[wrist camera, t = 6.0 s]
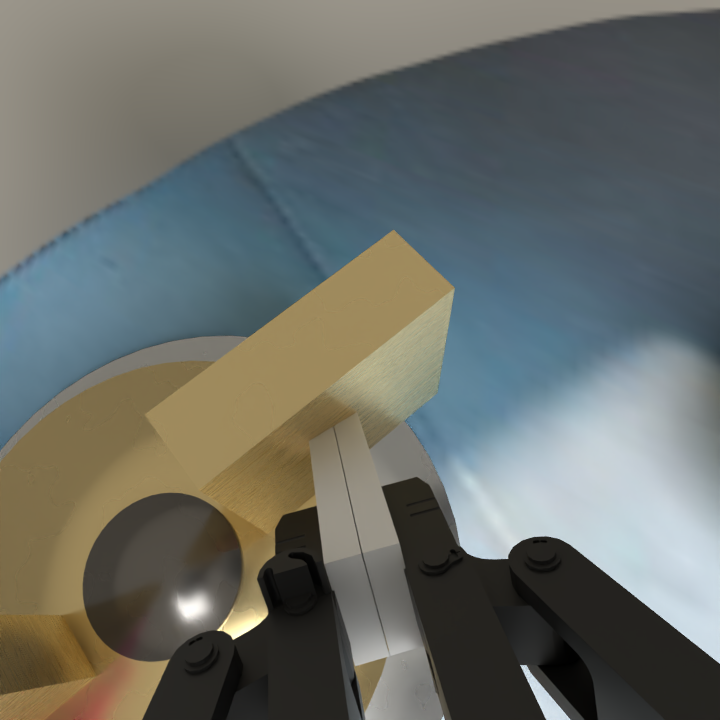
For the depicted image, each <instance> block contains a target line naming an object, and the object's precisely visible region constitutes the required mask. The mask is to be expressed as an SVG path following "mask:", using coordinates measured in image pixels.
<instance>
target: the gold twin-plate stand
mask: <svg viewBox="0 0 720 720" xmlns="http://www.w3.org/2000/svg"><path fill="white" fill-rule="evenodd" d="M454 290H455V288H454V287H453V286H452V285H451V284H450V283H449V282H448V281H447V280H446V279H445V278H444V277H443V276H442V275H441V274H440V273H438V272H437V271H436V270H435V269H434V268H433V267H432V266H431V265H430V264H429V263H428V262H427V261H426V260H425V259H424V258H423V257H422V256H421V255H420V254H418V253H417V252H416V251H415V250H414V249H413V248H412V247H411V246H410V245H409V244H408V243H407V242H406V241H405V240H404V239H403V238H402V237H401V236H400V235H398V234H397V233H396V232H395V231H394V230H393V231H391V232H390V233H389V234H387V235H386V236H385V237H383V238H382V239H381V240H379V241H378V242H377V243H375V244H374V245H372V246H371V247H370V248H368V249H367V250H366V251H364V252H363V253H362V254H360V255H359V256H358V257H356V258H355V259H354V260H352V261H351V262H350V263H348V264H347V265H345V266H344V267H343V268H341V269H340V270H339V271H337V272H336V273H335V274H333V275H332V276H331V277H329V278H328V279H327V280H325V281H324V282H323V283H321V284H320V285H319V286H317V287H316V288H314V289H313V290H312V291H310V292H309V293H308V294H306V295H305V296H304V297H302V298H301V299H300V300H298V301H297V302H296V303H294V304H293V305H292V306H290V307H289V308H287V309H286V310H285V311H283V312H282V313H281V314H279V315H278V316H277V317H275V318H274V319H273V320H271V321H270V322H269V323H267V324H266V325H265V326H263V327H262V328H261V329H259V330H258V331H256V332H255V333H254V334H252V335H251V336H250V337H248V338H247V339H246V340H244V341H243V342H242V343H240V344H239V345H238V346H236V347H235V348H234V349H232V350H231V351H229V352H228V353H227V354H225V355H224V356H223V357H221V358H220V359H219V360H217V361H181V362H169V363H162V364H157V365H152V366H148V367H143V368H138V369H135V370H132V371H129V372H126V373H123V374H120V375H117V376H114V377H112V378H110V379H107V380H105V381H103V382H101V383H99V384H97V385H94V386H92V387H90V388H88V389H86V390H85V391H83V392H81V393H80V394H78V395H76V396H75V397H73V398H71V399H70V400H68V401H66V402H65V403H63V404H62V405H60V406H59V407H58V408H56V409H55V410H54V411H52V412H51V413H50V414H48V415H47V416H46V417H44V418H43V419H42V420H41V421H39V422H38V423H37V424H36V425H35V426H34V427H33V428H32V429H31V430H30V431H29V432H28V433H27V434H26V435H24V436H23V437H22V438H21V439H20V440H19V441H18V442H17V443H16V445H15V446H14V447H13V448H12V449H11V450H10V451H9V453H8V454H7V455H6V456H5V457H4V458H3V459H2V461H1V462H0V720H142V719H143V717H144V714H145V712H146V710H147V708H148V706H149V703H150V701H151V699H152V697H153V695H154V693H155V690H156V688H157V686H158V684H159V682H160V680H161V677H162V675H163V673H164V671H165V669H166V667H167V664H168V662H169V660H170V659H171V657H172V656H173V654H174V653H175V651H176V650H177V649H178V648H179V647H180V646H181V645H182V644H183V643H185V642H186V641H187V640H188V639H190V638H192V637H194V636H196V635H198V634H199V633H203V632H207V631H211V630H217V631H224V632H226V633H228V634H229V635H231V636H232V639H235V638H237V637H239V636H240V635H242V634H244V633H246V632H248V631H249V630H251V629H252V628H254V627H255V626H257V625H258V624H259V623H260V622H261V621H263V620H264V619H265V618H266V616H267V615H268V609H267V606H266V603H265V601H264V598H263V595H262V592H261V589H260V587H259V584H258V581H257V577H258V573H259V570H260V569H261V568H262V566H263V565H264V564H265V563H266V561H268V560H269V559H271V558H272V557H273V556H275V528H276V526H277V524H278V523H279V521H280V519H281V517H282V516H283V515H285V514H288V513H292V512H295V511H299V510H303V509H306V508H310V507H314V506H317V503H316V495H315V487H314V479H313V471H312V463H311V455H310V447H309V441H310V440H312V439H313V438H315V437H317V436H318V435H320V434H321V433H323V432H325V431H326V430H328V429H330V428H331V427H334V426H335V425H336V424H338V423H340V422H341V421H343V420H345V419H346V418H348V417H350V416H351V415H353V414H355V413H356V412H357V413H358V416H359V419H360V422H361V426H362V429H363V432H364V435H365V438H366V441H367V444H368V447H369V449H371V448H372V447H373V446H374V445H376V444H377V443H378V442H379V441H380V440H382V439H383V438H384V437H385V436H386V435H388V434H389V433H390V432H391V431H392V430H394V429H395V428H396V427H397V426H398V425H400V424H401V423H402V422H403V421H404V420H406V419H407V418H408V417H409V416H410V415H412V414H413V413H414V412H415V411H416V410H418V409H419V408H420V407H421V406H422V405H424V404H425V403H426V402H427V401H429V400H430V399H431V398H432V397H433V396H435V395H436V394H437V392H438V386H439V380H440V374H441V368H442V362H443V356H444V350H445V344H446V338H447V332H448V326H449V320H450V314H451V308H452V302H453V296H454ZM334 430H335V428H334ZM385 639H386V637H385ZM386 643H387V641H386ZM387 647H388V645H387ZM388 652H389V648H388ZM386 659H387V657H385V658H382V659H378V660H375V661H371V662H368V663H364V664H361V665H357V666H355V664H354V661H353V664H354V669H355V672H356V676H357V679H358V682H359V685H360V690H361V696H362V702H363V708H364V713H365V711H366V709H367V708H368V705H369V703H370V701H371V698H372V696H373V694H374V691H375V689H376V687H377V684H378V682H379V680H380V677H381V675H382V672H383V669H384V666H385V662H386Z"/></svg>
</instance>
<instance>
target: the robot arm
mask: <svg viewBox="0 0 720 720" xmlns="http://www.w3.org/2000/svg"><path fill="white" fill-rule="evenodd" d="M334 428H335V430H334ZM309 447H310V455H311V463H312V471H313V479H314V487H315V495H316V503H317V506H314V507H310V508H306V509H303V510H299V511H295V512H292V513H288V514H285V515H283V516H282V517H281V519H280V521H279V523H278V524H277V526H276V528H275V556H273V557H272V558H271V559H269V560H268V561H266V563H265V564H264V565H263V566H262V568H261V569H260V570H259V573H258V577H257V581H258V584H259V587H260V589H261V592H262V595H263V598H264V601H265V603H266V606H267V609H268V615H267V616H266V618H265V619H264V620H263V621H261V622H260V623H259V624H258V625H257V626H255V627H254V628H252V629H251V630H249V631H248V632H246V633H244V634H242V635H240V636H239V637H237V638H235V639H232V636H231V635H229V634H228V633H226V632H224V631H217V630H211V631H207V632H203V633H199V634H198V635H196V636H194V637H192V638H190V639H188V640H187V641H186V642H185V643H183V644H182V645H181V646H180V647H179V648H178V649H177V650H176V651H175V653H174V654H173V656H172V657H171V659H170V660H169V662H168V664H167V667H166V669H165V671H164V673H163V675H162V677H161V680H160V682H159V684H158V686H157V688H156V690H155V693H154V695H153V697H152V699H151V701H150V703H149V706H148V708H147V710H146V712H145V714H144V717H143V719H142V720H365V714H364V708H363V702H362V696H361V690H360V685H359V682H358V679H357V676H356V672H355V669H354V664H355V666H357V665H361V664H364V663H368V662H371V661H375V660H378V659H382V658H385V657H389V652H390V656H392V655H395V654H399V653H402V652H406V651H409V650H413V649H416V648H420V647H423V646H424V647H425V651H426V655H427V659H428V663H429V667H430V671H431V675H432V680H433V684H434V688H435V692H436V693H437V694H438V697H439V701H440V704H441V708H442V711H443V714H444V718H445V720H546V719H545V717H544V715H543V712H542V710H541V708H540V706H539V704H538V702H537V700H536V698H535V696H534V693H533V691H532V689H531V687H530V685H529V683H528V681H527V679H526V677H525V674H524V672H523V670H522V668H521V666H520V665H527V666H528V668H529V670H530V672H531V673H532V675H533V676H534V677H535V678H536V679H537V680H538V682H539V683H540V684H541V685H542V686H543V687H544V689H545V690H546V691H547V692H548V693H549V695H550V696H551V697H552V698H553V699H554V700H555V702H556V703H557V704H558V705H559V706H560V708H561V709H562V710H563V711H564V712H565V713H566V715H567V716H568V717H569V718H570V719H571V720H720V664H719V663H718V662H717V661H715V660H714V659H713V658H712V657H710V656H709V655H708V654H707V653H705V652H704V651H703V650H702V649H700V648H699V647H698V646H697V645H695V644H694V643H693V642H691V641H690V640H689V639H688V638H686V637H685V636H684V635H683V634H681V633H680V632H679V631H678V630H676V629H675V628H674V627H673V626H671V625H670V624H669V623H668V622H666V621H665V620H664V619H663V618H661V617H660V616H659V615H657V614H656V613H655V612H654V611H652V610H651V609H650V608H649V607H647V606H646V605H645V604H644V603H642V602H641V601H640V600H639V599H637V598H636V597H635V596H634V595H632V594H631V593H630V592H629V591H627V590H626V589H625V588H624V587H622V586H621V585H620V584H618V583H617V582H616V581H615V580H613V579H612V578H611V577H610V576H608V575H607V574H606V573H605V572H603V571H602V570H601V569H600V568H598V567H597V566H596V565H595V564H593V563H592V562H591V561H590V560H588V559H587V558H586V557H584V556H583V555H582V554H581V553H579V552H578V551H577V550H576V549H574V548H573V547H572V546H571V545H569V544H567V543H566V542H564V541H562V540H560V539H556V538H552V537H532V538H529V539H526V540H523V541H521V542H520V543H518V544H517V545H515V546H514V547H513V548H512V550H511V552H510V553H509V555H508V558H509V559H497V560H492V559H481V558H476V557H473V556H471V555H469V554H467V553H466V552H465V551H464V550H463V548H462V547H460V546H458V544H457V543H456V540H455V538H454V536H453V534H452V532H451V530H450V528H449V526H448V523H447V521H446V519H445V517H444V515H443V513H442V511H441V509H440V506H439V504H438V502H437V500H436V498H435V496H434V494H433V491H432V489H431V487H430V485H429V484H427V483H426V482H424V481H423V480H421V479H420V478H418V477H414V478H410V479H407V480H403V481H399V482H396V483H392V484H388V485H385V486H381V484H380V481H379V478H378V475H377V472H376V469H375V466H374V463H373V460H372V457H371V453H370V450H369V447H368V444H367V441H366V438H365V435H364V432H363V429H362V426H361V422H360V419H359V416H358V413H357V412H356V413H355V414H353V415H351V416H350V417H348V418H346V419H345V420H343V421H341V422H340V423H338V424H336V425H335V426H334V427H331V428H330V429H328V430H326V431H325V432H323V433H321V434H320V435H318V436H317V437H315V438H313V439H312V440H310V441H309ZM385 637H386V639H385ZM386 641H387V643H386ZM387 645H388V647H387ZM388 648H389V652H388ZM353 661H354V664H353Z"/></svg>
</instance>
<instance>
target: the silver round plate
mask: <svg viewBox="0 0 720 720" xmlns="http://www.w3.org/2000/svg"><path fill="white" fill-rule="evenodd" d="M247 338H248V337H240V336H207V337H196V338H189V339H183V340H176V341H171V342H167V343H163V344H160V345H156V346H152V347H149V348H145V349H142V350H139V351H137V352H134V353H132V354H129V355H127V356H124V357H122V358H119V359H117V360H114V361H112V362H110V363H108V364H106V365H104V366H103V367H101V368H99V369H97V370H95V371H93V372H91V373H89V374H87V375H86V376H84V377H83V378H81V379H80V380H78V381H77V382H75V383H74V384H72V385H71V386H69V387H68V388H66V389H65V390H63V391H62V392H60V393H59V394H58V395H56V396H55V397H54V398H53V399H52V400H51V401H49V402H48V403H47V404H46V405H45V406H43V407H42V408H41V409H40V410H39V411H37V412H36V413H35V414H34V415H33V416H32V417H31V418H30V419H29V420H28V421H27V422H26V423H25V424H24V425H23V426H22V427H21V428H20V429H19V430H18V431H17V432H16V433H15V434H14V435H13V436H12V437H11V439H10V440H9V441H8V442H7V443H6V445H5V446H4V447H3V448H2V450H1V451H0V462H1V461H2V459H3V458H4V457H5V456H6V455H7V454H8V453H9V451H10V450H11V449H12V448H13V447H14V446H15V445H16V443H17V442H18V441H19V440H20V439H21V438H22V437H23V436H24V435H26V434H27V433H28V432H29V431H30V430H31V429H32V428H33V427H34V426H35V425H36V424H37V423H38V422H39V421H41V420H42V419H43V418H44V417H46V416H47V415H48V414H50V413H51V412H52V411H54V410H55V409H56V408H58V407H59V406H60V405H62V404H63V403H65V402H66V401H68V400H70V399H71V398H73V397H75V396H76V395H78V394H80V393H81V392H83V391H85V390H86V389H88V388H90V387H92V386H94V385H97V384H99V383H101V382H103V381H105V380H107V379H110V378H112V377H114V376H117V375H120V374H123V373H126V372H129V371H132V370H135V369H138V368H143V367H148V366H152V365H157V364H162V363H169V362H181V361H217V360H219V359H220V358H221V357H223V356H224V355H225V354H227V353H228V352H229V351H231V350H232V349H234V348H235V347H236V346H238V345H239V344H240V343H242V342H243V341H244V340H246V339H247ZM369 450H370V453H371V457H372V460H373V463H374V466H375V469H376V472H377V475H378V478H379V481H380V484H381V486H385V485H388V484H392V483H396V482H399V481H403V480H407V479H410V478H414V477H418V478H420V479H421V480H423V481H424V482H426V483H427V484H429V485H430V487H431V489H432V491H433V494H434V496H435V498H436V500H437V502H438V504H439V506H440V509H441V511H442V513H443V515H444V517H445V519H446V521H447V523H448V526H449V528H450V530H451V532H452V534H453V536H454V538H455V540H456V543H457V544H458V546H460V543H459V538H458V533H457V528H456V523H455V519H454V516H453V513H452V510H451V507H450V504H449V501H448V498H447V495H446V492H445V489H444V486H443V484H442V482H441V480H440V478H439V476H438V474H437V472H436V470H435V467H434V465H433V463H432V461H431V459H430V457H429V455H428V454H427V452H426V451H425V449H424V448H423V446H422V445H421V443H420V442H419V440H418V439H417V437H416V436H415V434H414V432H413V431H412V429H411V428H410V427H409V426H408V425H407V424H406V422H405V421H403V422H402V423H401V424H400V425H398V426H397V427H396V428H395V429H394V430H392V431H391V432H390V433H389V434H388V435H386V436H385V437H384V438H383V439H382V440H380V441H379V442H378V443H377V444H376V445H374V446H373V447H372V448H371V449H369ZM364 714H365V720H441V719H442V717H443V711H442V708H441V704H440V701H439V697H438V694H437V693H436V692H435V688H434V684H433V680H432V675H431V671H430V667H429V663H428V659H427V655H426V651H425V647H424V646H423V647H420V648H416V649H413V650H409V651H406V652H402V653H399V654H395V655H392V656H390V652H389V657H387V659H386V662H385V666H384V669H383V672H382V675H381V677H380V680H379V682H378V684H377V687H376V689H375V691H374V694H373V696H372V698H371V701H370V703H369V705H368V708H367V709H366V711H365V713H364Z"/></svg>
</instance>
